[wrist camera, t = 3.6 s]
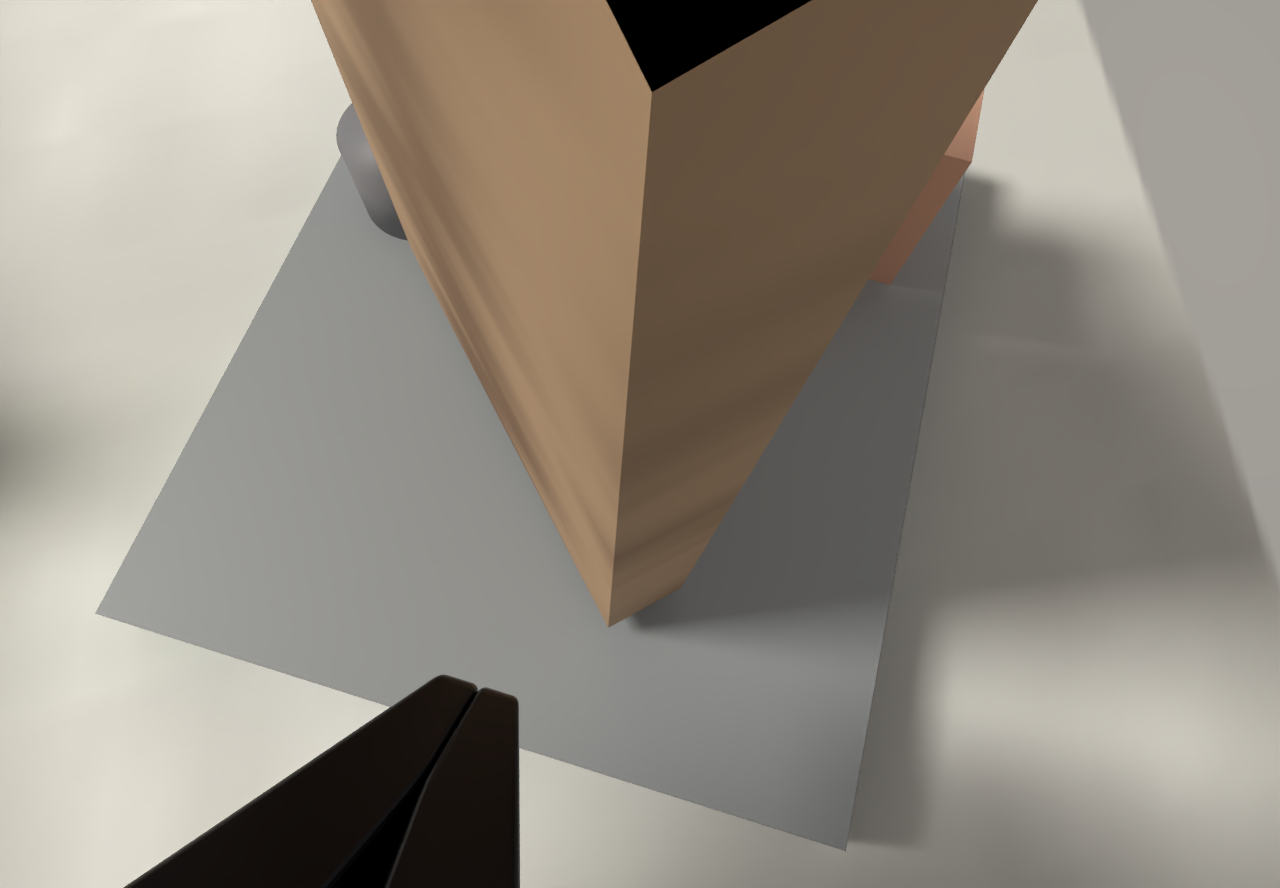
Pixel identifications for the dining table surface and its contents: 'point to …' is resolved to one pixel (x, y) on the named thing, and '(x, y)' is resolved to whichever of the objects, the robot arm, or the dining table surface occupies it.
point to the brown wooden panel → (654, 222)
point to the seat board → (544, 528)
